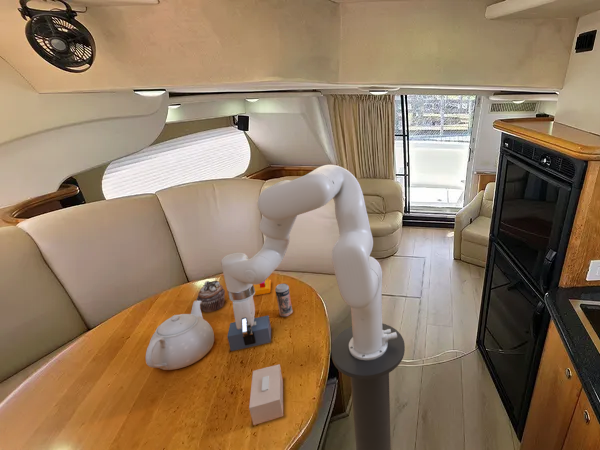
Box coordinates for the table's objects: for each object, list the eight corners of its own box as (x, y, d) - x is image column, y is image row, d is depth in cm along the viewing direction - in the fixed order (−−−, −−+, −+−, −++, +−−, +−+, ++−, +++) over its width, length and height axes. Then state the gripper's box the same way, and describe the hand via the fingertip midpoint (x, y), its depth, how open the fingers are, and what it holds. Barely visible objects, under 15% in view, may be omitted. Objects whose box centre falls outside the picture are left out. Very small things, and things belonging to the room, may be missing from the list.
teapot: (144, 352, 100) (130, 317, 95) (208, 325, 112) (198, 293, 107) (155, 387, 88) (140, 349, 83) (225, 352, 100) (216, 317, 95)
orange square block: (249, 296, 129) (247, 287, 127) (251, 286, 136) (249, 278, 134) (270, 292, 131) (268, 284, 130) (271, 283, 138) (269, 274, 137)
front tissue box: (256, 386, 88) (252, 369, 85) (282, 379, 90) (279, 362, 88) (253, 425, 77) (248, 406, 75) (283, 416, 79) (279, 397, 77)
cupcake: (203, 300, 126) (197, 279, 123) (229, 297, 129) (224, 276, 125) (195, 315, 118) (189, 292, 114) (224, 310, 120) (218, 288, 116)
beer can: (282, 319, 115) (277, 291, 111) (277, 312, 119) (272, 285, 114) (294, 313, 118) (290, 286, 114) (290, 307, 122) (285, 281, 117)
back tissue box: (230, 351, 100) (226, 335, 98) (233, 337, 107) (229, 321, 104) (270, 342, 104) (267, 326, 102) (271, 329, 110) (268, 313, 108)
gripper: (232, 279, 105) (241, 322, 111) (223, 309, 90) (235, 357, 96) (256, 275, 107) (264, 318, 114) (252, 304, 92) (262, 351, 98)
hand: (251, 335), depth 105 cm, fingers closed on back tissue box, 7 cm apart
